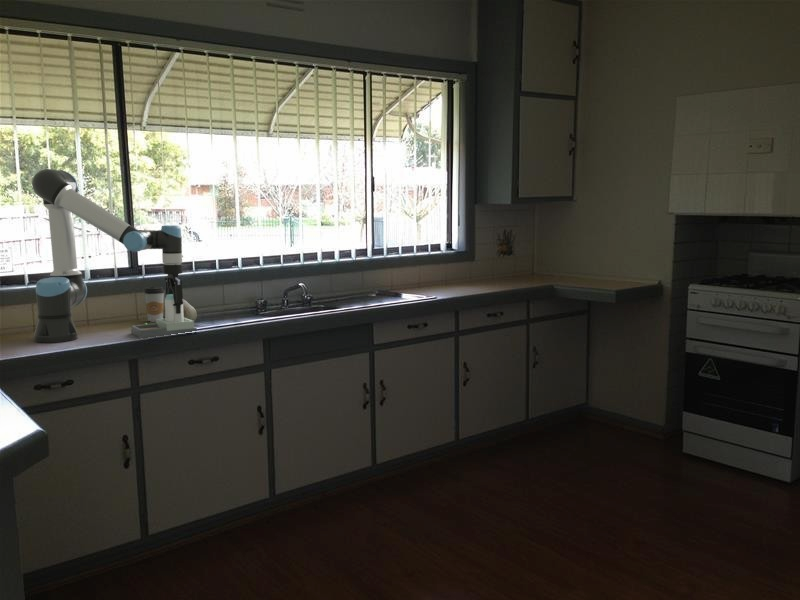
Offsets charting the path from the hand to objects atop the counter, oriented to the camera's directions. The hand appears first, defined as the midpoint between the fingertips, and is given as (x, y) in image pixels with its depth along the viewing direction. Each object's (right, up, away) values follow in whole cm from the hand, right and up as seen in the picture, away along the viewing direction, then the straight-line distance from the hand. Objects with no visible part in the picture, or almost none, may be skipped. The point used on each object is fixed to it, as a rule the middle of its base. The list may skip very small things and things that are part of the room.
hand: (174, 320), depth 287 cm
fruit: (-1, -3, +18) cm, 18 cm away
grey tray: (-4, -5, -2) cm, 7 cm away
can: (0, -2, 0) cm, 2 cm away
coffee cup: (-18, -1, +29) cm, 34 cm away
